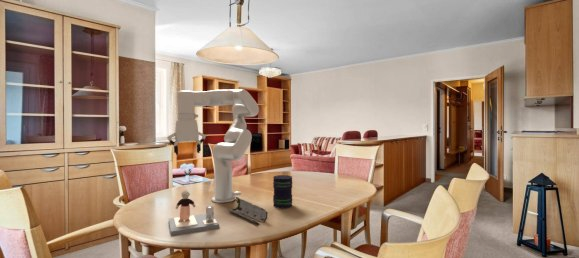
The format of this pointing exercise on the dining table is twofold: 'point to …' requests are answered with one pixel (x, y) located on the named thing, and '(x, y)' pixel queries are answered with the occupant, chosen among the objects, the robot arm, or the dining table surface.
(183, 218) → the grandmother figurine
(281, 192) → the storage jar
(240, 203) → the model building
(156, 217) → the dining table surface
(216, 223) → the board
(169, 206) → the dining table surface
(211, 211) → the pin
